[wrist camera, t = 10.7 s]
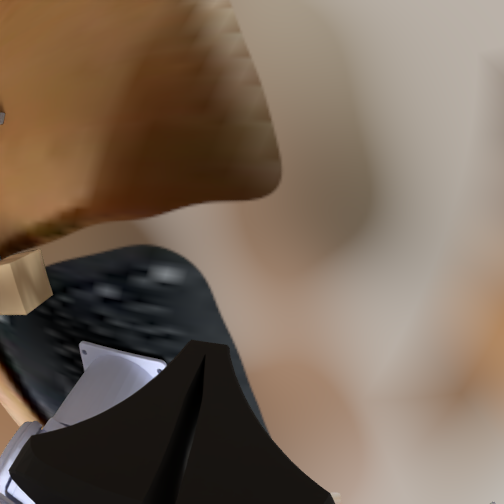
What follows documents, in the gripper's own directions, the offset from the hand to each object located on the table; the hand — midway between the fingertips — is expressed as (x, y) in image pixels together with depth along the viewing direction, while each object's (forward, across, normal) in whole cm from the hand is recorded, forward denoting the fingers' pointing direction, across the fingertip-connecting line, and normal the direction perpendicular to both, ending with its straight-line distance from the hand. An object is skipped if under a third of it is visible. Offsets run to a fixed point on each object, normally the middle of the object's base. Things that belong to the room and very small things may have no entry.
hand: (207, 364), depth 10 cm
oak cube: (+10, +17, +3) cm, 20 cm away
